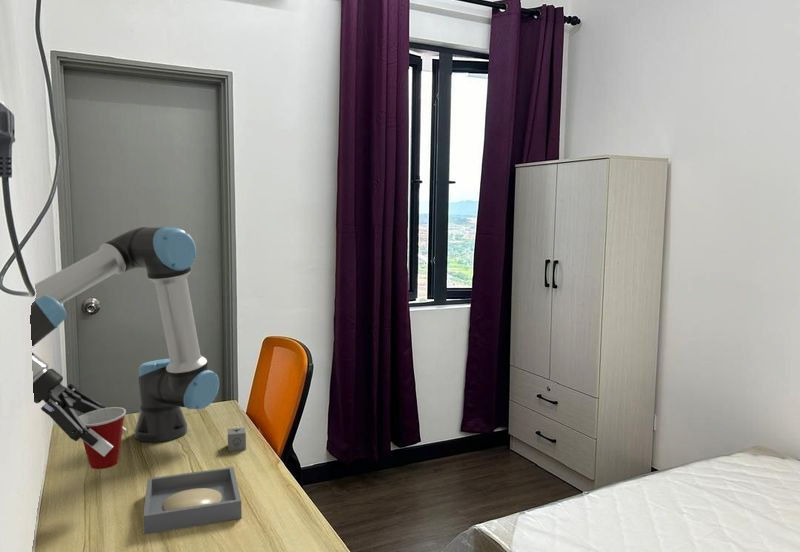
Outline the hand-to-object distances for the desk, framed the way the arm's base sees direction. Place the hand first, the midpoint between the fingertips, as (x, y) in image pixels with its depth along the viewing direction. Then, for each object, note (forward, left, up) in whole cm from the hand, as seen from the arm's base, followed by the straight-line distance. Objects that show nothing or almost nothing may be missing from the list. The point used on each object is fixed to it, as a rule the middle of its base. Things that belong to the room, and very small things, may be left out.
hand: (115, 442), depth 140 cm
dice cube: (-28, +29, -15) cm, 43 cm away
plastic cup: (-1, -3, -5) cm, 6 cm away
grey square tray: (+6, +16, -15) cm, 23 cm away
